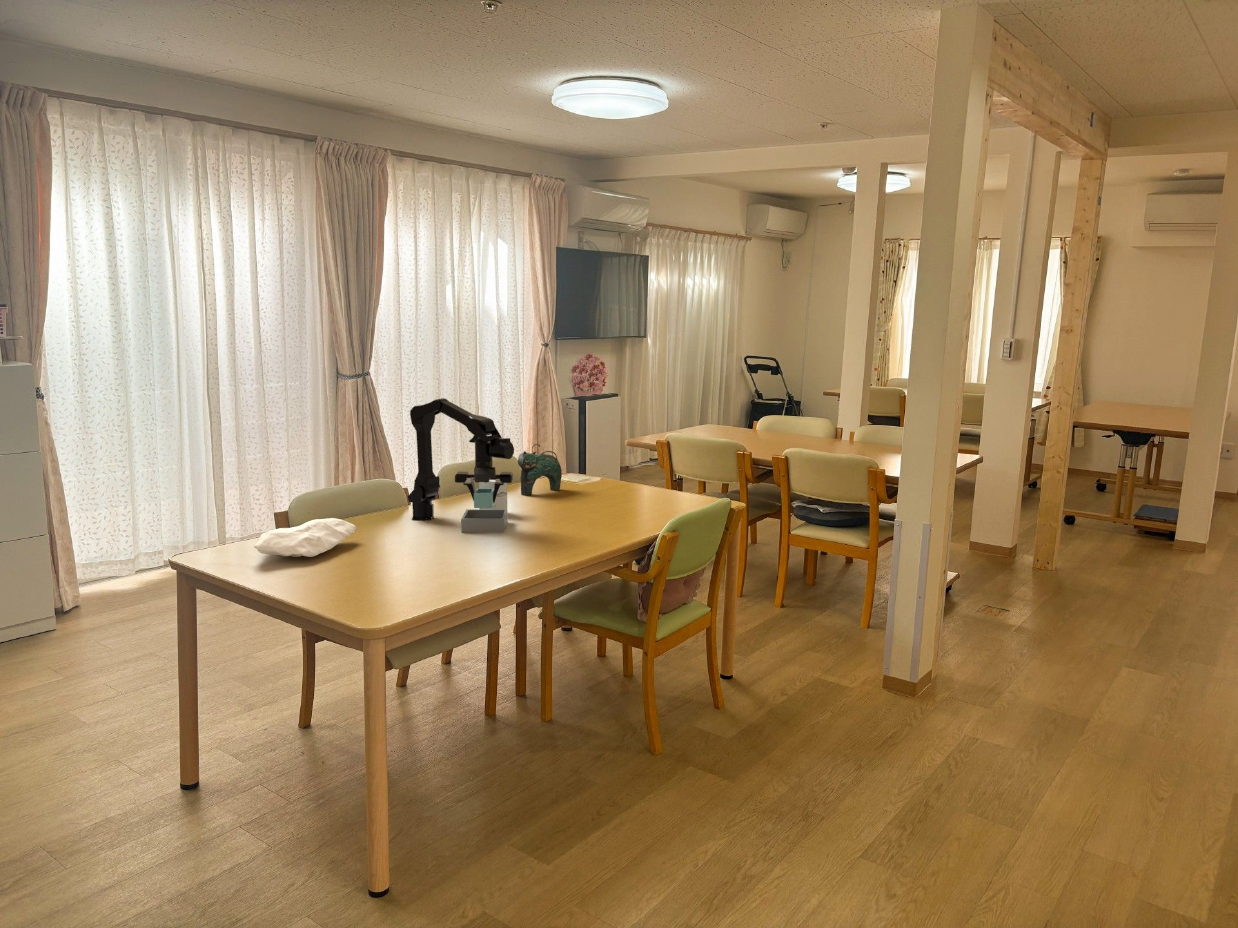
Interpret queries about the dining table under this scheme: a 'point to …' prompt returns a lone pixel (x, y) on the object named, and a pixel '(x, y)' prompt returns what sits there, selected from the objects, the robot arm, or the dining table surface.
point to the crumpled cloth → (305, 538)
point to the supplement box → (501, 495)
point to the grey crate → (484, 520)
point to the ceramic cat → (539, 470)
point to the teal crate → (483, 498)
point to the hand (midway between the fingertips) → (484, 502)
